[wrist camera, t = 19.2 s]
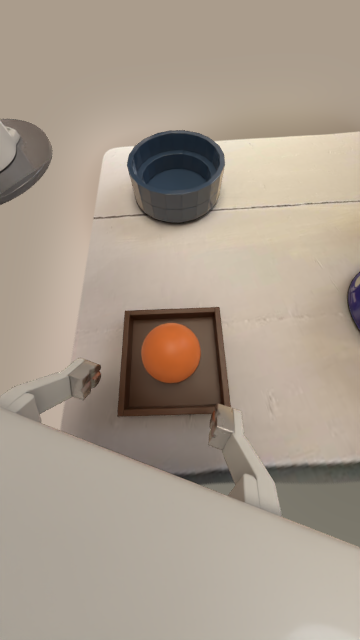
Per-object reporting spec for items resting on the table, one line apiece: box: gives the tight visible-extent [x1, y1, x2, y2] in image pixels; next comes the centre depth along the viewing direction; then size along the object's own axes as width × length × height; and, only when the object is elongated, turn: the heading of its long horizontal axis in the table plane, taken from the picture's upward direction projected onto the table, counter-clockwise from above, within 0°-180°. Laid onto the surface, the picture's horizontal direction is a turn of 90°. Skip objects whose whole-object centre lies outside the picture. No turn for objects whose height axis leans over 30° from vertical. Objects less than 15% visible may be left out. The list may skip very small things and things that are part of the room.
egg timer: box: [141, 323, 201, 384], centre depth 17 cm, size 5×5×8 cm
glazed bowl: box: [127, 130, 225, 222], centre depth 28 cm, size 14×14×5 cm
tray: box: [117, 307, 231, 417], centre depth 20 cm, size 11×11×2 cm
